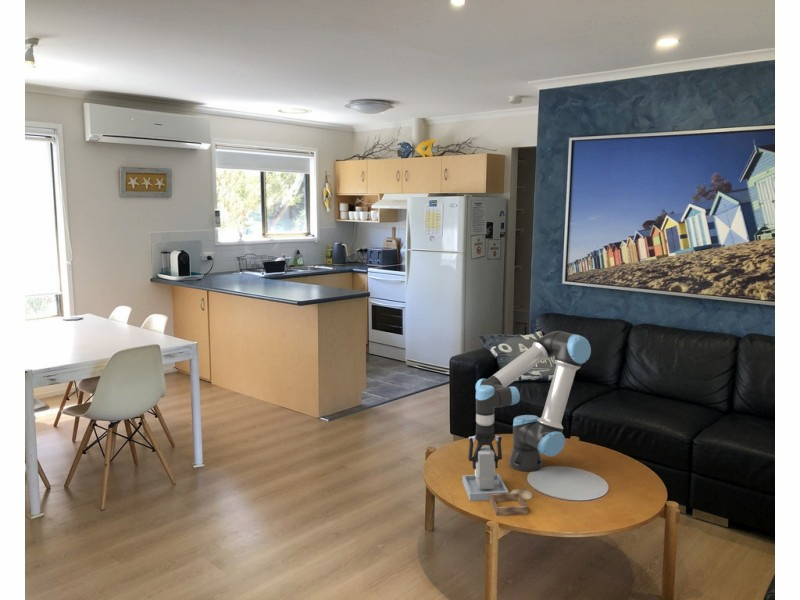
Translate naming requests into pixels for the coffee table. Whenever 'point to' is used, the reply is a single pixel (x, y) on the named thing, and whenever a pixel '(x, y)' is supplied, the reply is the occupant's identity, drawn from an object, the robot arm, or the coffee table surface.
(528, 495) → the curved potato chip
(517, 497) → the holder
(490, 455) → the skincare box
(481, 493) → the tray
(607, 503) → the coffee table surface
